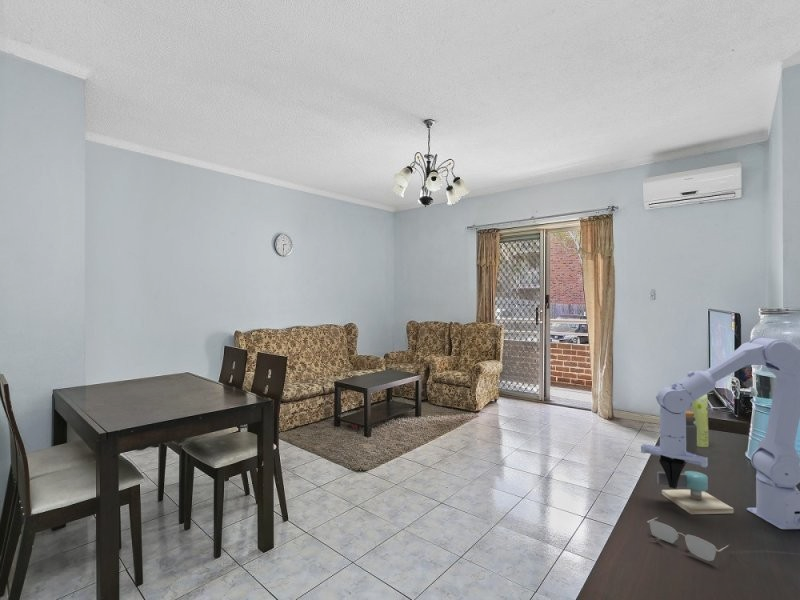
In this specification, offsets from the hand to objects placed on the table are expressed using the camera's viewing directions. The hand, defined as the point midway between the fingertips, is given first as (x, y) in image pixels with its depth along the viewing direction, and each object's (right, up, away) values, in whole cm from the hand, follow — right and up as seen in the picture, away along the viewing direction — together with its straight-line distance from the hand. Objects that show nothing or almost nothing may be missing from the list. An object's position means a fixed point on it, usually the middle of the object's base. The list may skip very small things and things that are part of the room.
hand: (673, 486), depth 109 cm
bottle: (+28, -5, +36) cm, 46 cm away
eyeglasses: (-7, -5, -16) cm, 19 cm away
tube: (+39, -5, +45) cm, 59 cm away
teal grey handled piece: (+4, -1, +2) cm, 4 cm away
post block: (+7, -5, +1) cm, 8 cm away
